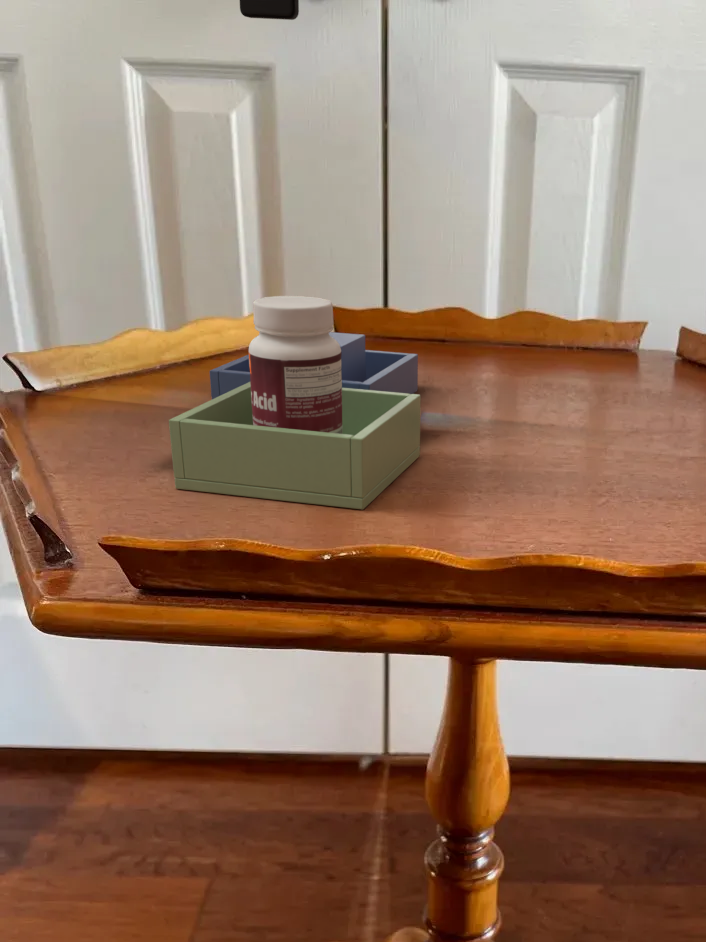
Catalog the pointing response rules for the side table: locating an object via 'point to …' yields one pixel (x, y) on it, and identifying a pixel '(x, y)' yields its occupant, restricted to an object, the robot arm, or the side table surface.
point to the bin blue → (380, 376)
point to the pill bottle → (295, 365)
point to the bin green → (297, 450)
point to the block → (352, 356)
